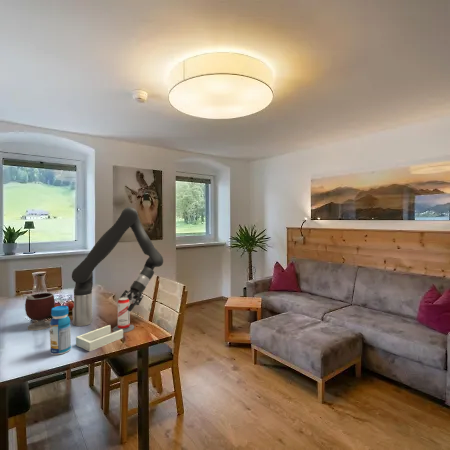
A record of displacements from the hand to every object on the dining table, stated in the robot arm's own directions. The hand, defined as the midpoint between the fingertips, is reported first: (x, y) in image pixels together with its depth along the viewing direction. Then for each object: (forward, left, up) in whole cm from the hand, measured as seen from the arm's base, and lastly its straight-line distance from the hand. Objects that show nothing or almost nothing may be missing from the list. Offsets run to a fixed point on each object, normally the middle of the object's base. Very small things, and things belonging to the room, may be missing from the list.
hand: (123, 309), depth 159 cm
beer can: (0, 0, -10) cm, 10 cm away
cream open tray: (-5, -16, -11) cm, 20 cm away
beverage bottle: (-18, -27, -11) cm, 34 cm away
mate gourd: (-48, 0, -11) cm, 49 cm away
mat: (0, 0, -11) cm, 11 cm away
